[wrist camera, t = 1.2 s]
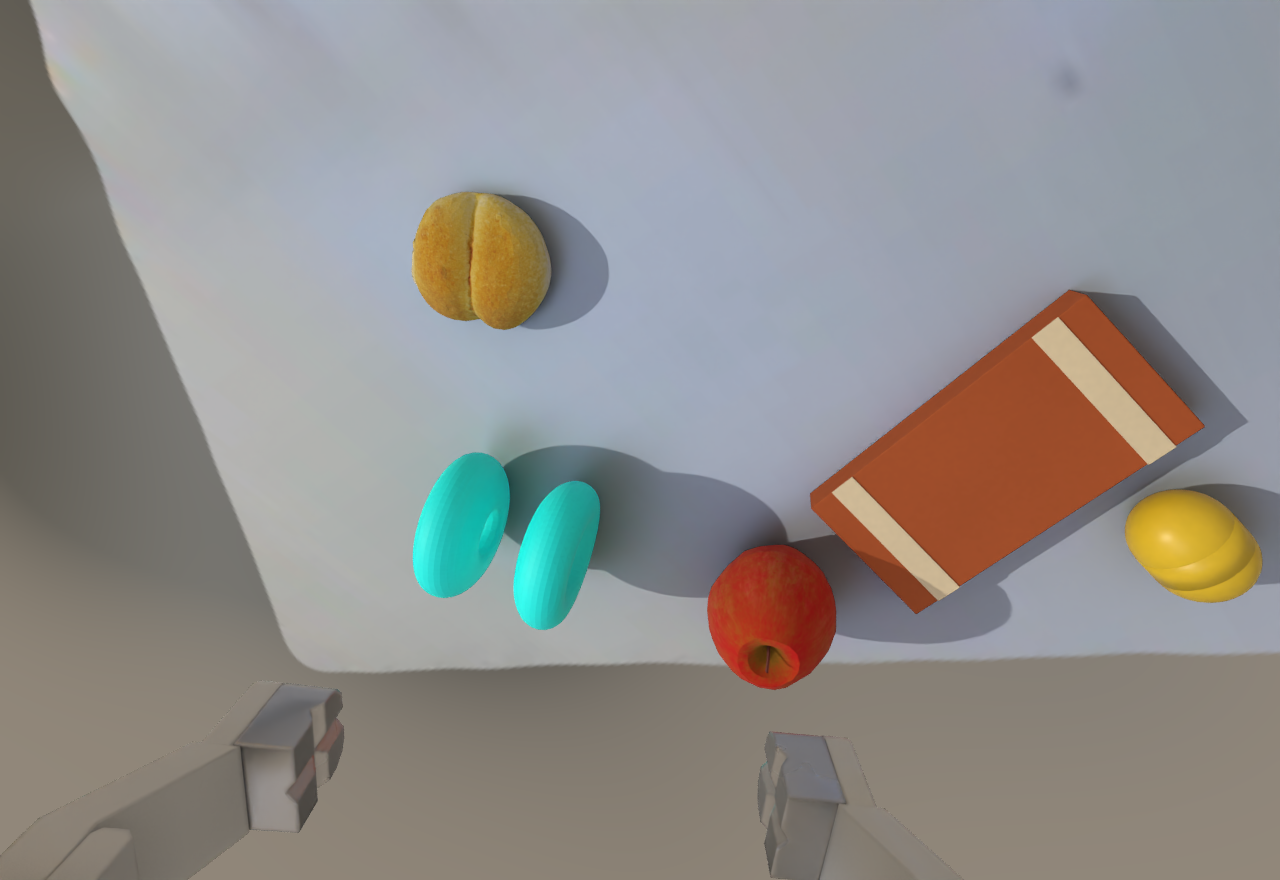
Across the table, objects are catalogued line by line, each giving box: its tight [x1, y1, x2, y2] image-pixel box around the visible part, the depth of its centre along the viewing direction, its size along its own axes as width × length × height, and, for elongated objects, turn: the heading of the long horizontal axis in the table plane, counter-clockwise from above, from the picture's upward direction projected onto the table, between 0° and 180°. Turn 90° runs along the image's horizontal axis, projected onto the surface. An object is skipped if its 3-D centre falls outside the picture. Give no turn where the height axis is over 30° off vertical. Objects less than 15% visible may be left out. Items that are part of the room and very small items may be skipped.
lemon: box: [1125, 489, 1262, 603], centre depth 38 cm, size 7×5×5 cm
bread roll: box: [412, 192, 551, 330], centre depth 42 cm, size 8×9×4 cm
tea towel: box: [810, 290, 1205, 614], centre depth 40 cm, size 19×10×2 cm, turn 136°
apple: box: [707, 545, 836, 690], centre depth 42 cm, size 8×8×11 cm
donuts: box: [413, 453, 600, 630], centre depth 45 cm, size 10×10×10 cm
